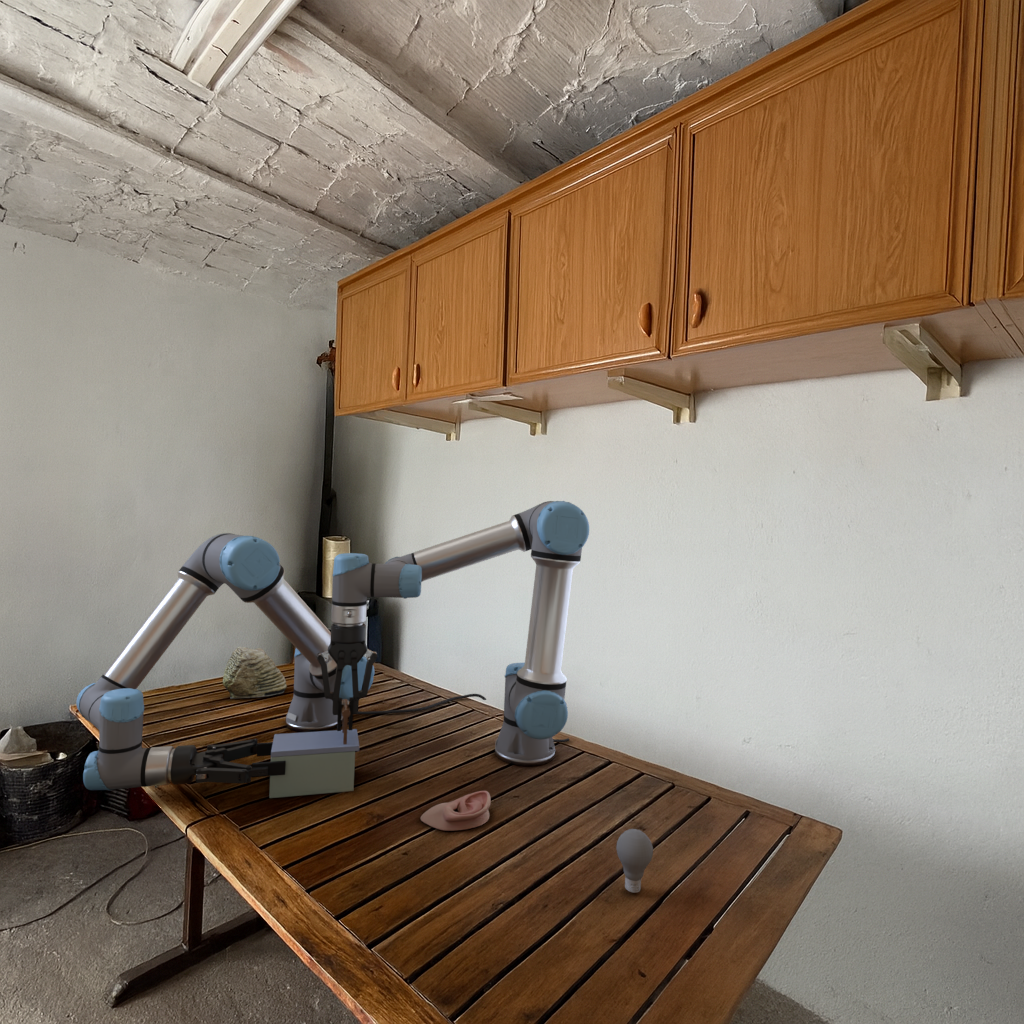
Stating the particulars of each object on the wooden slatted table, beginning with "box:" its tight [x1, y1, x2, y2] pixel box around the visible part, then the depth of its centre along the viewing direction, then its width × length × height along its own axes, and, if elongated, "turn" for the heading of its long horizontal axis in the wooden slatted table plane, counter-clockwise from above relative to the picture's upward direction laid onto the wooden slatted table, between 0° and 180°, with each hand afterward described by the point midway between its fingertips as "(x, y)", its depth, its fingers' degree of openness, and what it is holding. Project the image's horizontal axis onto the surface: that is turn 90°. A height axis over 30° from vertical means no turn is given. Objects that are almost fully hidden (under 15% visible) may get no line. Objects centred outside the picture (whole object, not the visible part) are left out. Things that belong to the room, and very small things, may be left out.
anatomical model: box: [419, 790, 492, 832], centre depth 127 cm, size 13×4×12 cm
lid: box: [270, 699, 360, 758], centre depth 139 cm, size 18×10×9 cm, turn 107°
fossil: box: [222, 646, 288, 699], centre depth 198 cm, size 9×18×15 cm, turn 132°
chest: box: [268, 751, 356, 799], centre depth 139 cm, size 17×10×9 cm, turn 107°
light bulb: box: [615, 828, 654, 894], centre depth 106 cm, size 6×6×10 cm
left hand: (286, 757), depth 138 cm, fingers closed on chest, 10 cm apart
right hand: (344, 728), depth 141 cm, fingers closed on lid, 2 cm apart
